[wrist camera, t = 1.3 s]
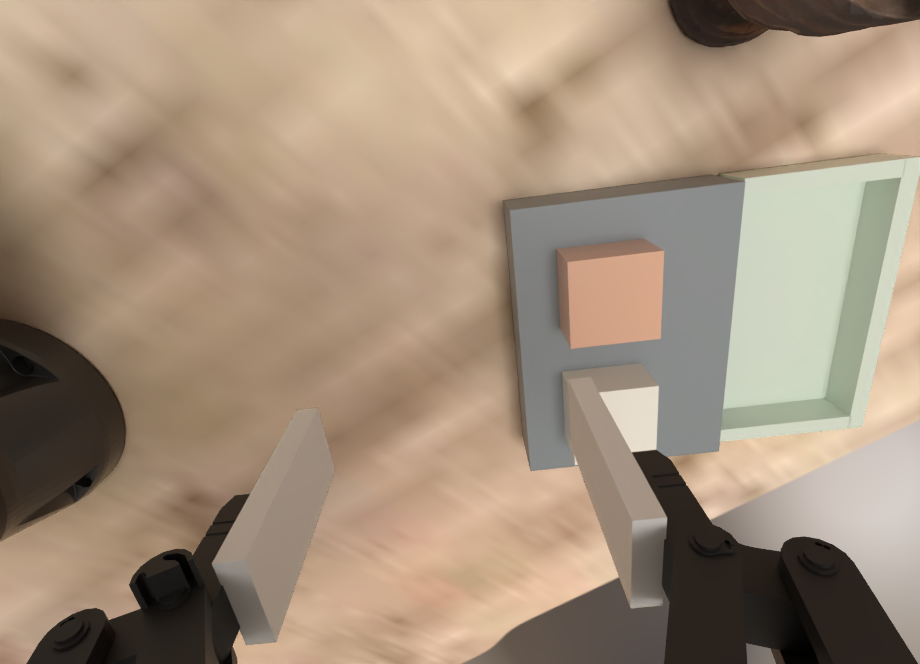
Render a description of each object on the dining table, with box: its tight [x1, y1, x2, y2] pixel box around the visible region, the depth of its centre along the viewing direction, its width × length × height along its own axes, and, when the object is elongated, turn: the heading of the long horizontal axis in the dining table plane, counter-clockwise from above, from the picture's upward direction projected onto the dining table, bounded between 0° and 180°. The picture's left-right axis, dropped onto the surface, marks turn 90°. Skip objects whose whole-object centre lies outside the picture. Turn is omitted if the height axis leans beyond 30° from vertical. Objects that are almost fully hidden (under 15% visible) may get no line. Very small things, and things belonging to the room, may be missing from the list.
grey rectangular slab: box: [503, 175, 745, 471], centre depth 33 cm, size 13×18×4 cm
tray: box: [719, 154, 920, 442], centre depth 33 cm, size 10×18×3 cm, turn 7°
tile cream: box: [562, 363, 659, 465], centre depth 31 cm, size 5×5×3 cm
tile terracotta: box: [557, 238, 664, 349], centre depth 28 cm, size 5×5×3 cm
